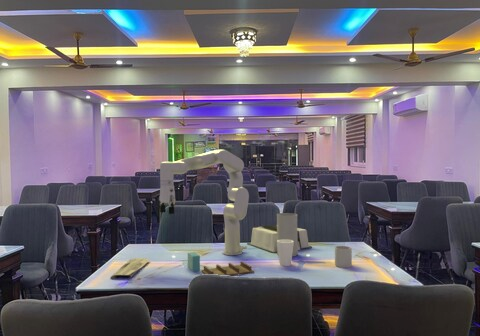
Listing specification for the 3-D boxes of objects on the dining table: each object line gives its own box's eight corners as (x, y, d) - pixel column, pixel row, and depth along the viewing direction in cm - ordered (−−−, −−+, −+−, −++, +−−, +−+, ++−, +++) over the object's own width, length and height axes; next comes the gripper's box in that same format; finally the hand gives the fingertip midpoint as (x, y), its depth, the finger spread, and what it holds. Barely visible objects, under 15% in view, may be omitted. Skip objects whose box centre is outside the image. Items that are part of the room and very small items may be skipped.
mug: (342, 268, 199) (342, 249, 199) (330, 264, 207) (330, 246, 207) (357, 265, 204) (357, 247, 204) (345, 262, 212) (345, 244, 212)
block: (194, 266, 206) (194, 252, 206) (199, 270, 198) (199, 255, 198) (187, 267, 205) (187, 252, 205) (192, 271, 197) (192, 256, 196)
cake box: (246, 244, 265) (246, 227, 265) (284, 239, 281) (284, 223, 281) (273, 254, 235) (273, 234, 234) (314, 248, 250) (314, 229, 250)
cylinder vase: (274, 256, 228) (274, 215, 228) (280, 251, 240) (280, 212, 240) (294, 257, 223) (294, 216, 223) (299, 253, 235) (299, 213, 235)
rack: (242, 266, 206) (242, 260, 206) (254, 272, 193) (254, 266, 193) (201, 271, 196) (201, 265, 196) (210, 278, 183) (210, 272, 183)
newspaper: (129, 262, 219) (129, 256, 219) (150, 261, 219) (150, 255, 219) (109, 280, 184) (109, 273, 184) (134, 280, 184) (134, 273, 184)
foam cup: (295, 262, 212) (295, 240, 212) (292, 267, 203) (291, 243, 203) (278, 261, 215) (278, 239, 215) (275, 265, 206) (274, 242, 206)
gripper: (180, 183, 211) (180, 213, 211) (164, 182, 224) (165, 211, 224) (168, 183, 206) (169, 214, 206) (153, 183, 219) (153, 212, 219)
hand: (167, 213), depth 215 cm, fingers open, 9 cm apart
